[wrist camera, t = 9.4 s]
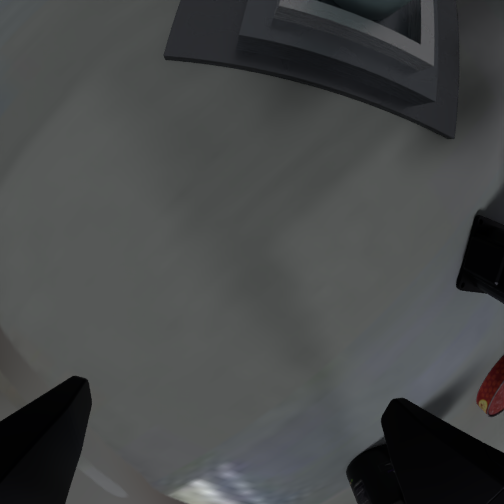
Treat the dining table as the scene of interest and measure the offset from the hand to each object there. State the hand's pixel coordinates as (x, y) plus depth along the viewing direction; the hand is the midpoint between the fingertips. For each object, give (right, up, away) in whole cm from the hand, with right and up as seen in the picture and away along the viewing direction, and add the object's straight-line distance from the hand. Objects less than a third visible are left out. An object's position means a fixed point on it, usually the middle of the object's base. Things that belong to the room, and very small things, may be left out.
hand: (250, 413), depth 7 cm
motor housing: (+6, +21, +7) cm, 23 cm away
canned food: (+34, -12, +21) cm, 41 cm away
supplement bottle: (+14, -20, +20) cm, 32 cm away
